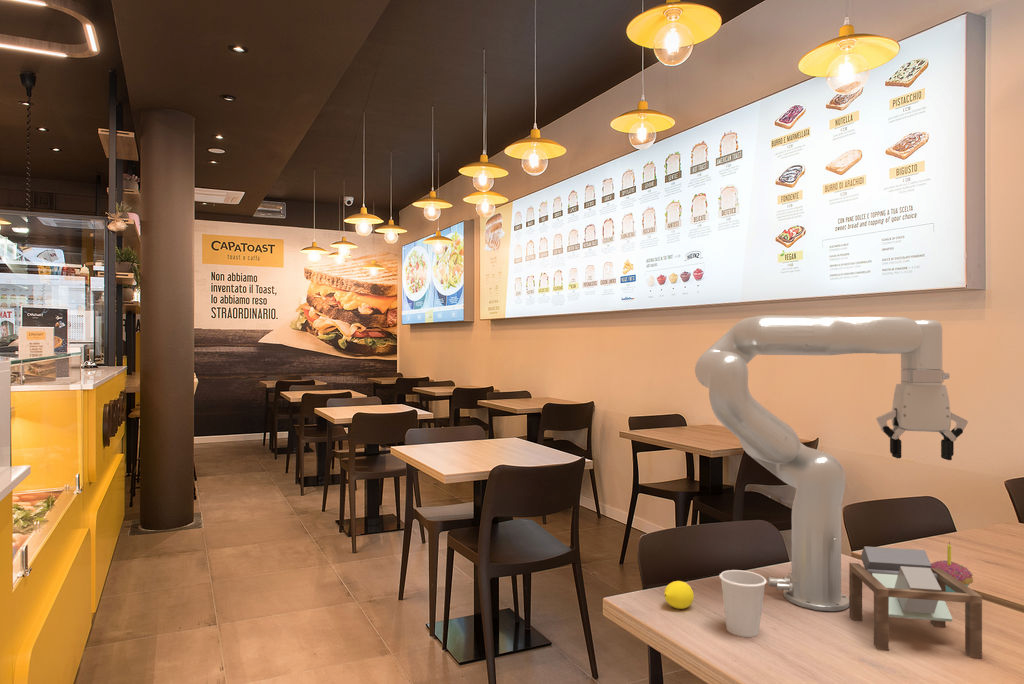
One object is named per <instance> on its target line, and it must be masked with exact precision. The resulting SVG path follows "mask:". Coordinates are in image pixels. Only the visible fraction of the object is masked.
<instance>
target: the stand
mask: <svg viewBox="0 0 1024 684" xmlns="http://www.w3.org/2000/svg"><path fill="white" fill-rule="evenodd" d="M848 565H849V573H848V574H849V575H848V576H849V582H848V583H849V584H848V585H849V588H848V589H849V590H848V591H849V594H848V595H849V597H848V598H849V607H848V608H849V610H848V611H849V614H848V615H849V618H850V619H851V620H852V621H861V622H862V621H863V583H864V585H866V586H867V587H868V589H870V590H871V591H872V592H873V646H874V648H875V649H876V650H877V651H889V650H890V649H889V645H890V644H889V634H890V633H889V631H890V630H889V627H890V625H889V623H890V622H889V618H890V617H889V597H896V598H910V599H924V600H938V601H945V602H946V603H947V602H953V603H964V605H965V606H964V622H965V623H964V653H965V654H966V655H967V656H968V657H969V656H970V657H974V658H973V659H981V658H982V659H983V596H982V595H981V594H979V593H977V592H976V591H974V590H973V589H972V588H970V587H969V586H968V587H967V586H966V585H964V584H963V583H961V582H960V581H958V580H957V579H955V578H954V577H953V576H951V575H950V574H948V573H947V572H945V571H944V570H942V569H937V568H931V571H932V572H933V573H936V574H937V576H938V580H937V582H938V584H939V586H940V588H941V590H942V591H941V592H940V591H926V590H912V589H898V588H886V587H885V586H884V585H883V584H882V583H880V582H879V581H878V580H877V579H876V578H875V577H874V576H873V575H871V574H870V573H869V572H868V571H867V570H866V569H865V568H864V565H862V564H860V562H857V563H856V562H849V564H848ZM946 585H947V586H948V587H949V588H951V589H952V590H953V591H955V592H956V593H955V592H946ZM946 622H947V621H936V620H930V624H932V626H934V627H936V628H946V627H947V626H946ZM970 657H969V658H970Z"/></svg>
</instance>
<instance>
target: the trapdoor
mask: <svg viewBox="0 0 1024 684" xmlns="http://www.w3.org/2000/svg"><path fill="white" fill-rule="evenodd" d="M860 558H861V561H862V564H863V565H862V566H863V567H864V568H865V569H866V570H867V571H868V572H869V573H870V574H871V575H873V576H874V577H875V578H876V579H877V580H878V581H879V582H880V583H882V584H883V585H884V586H885V587H886V588H894V587H895V584H896V580H897V576H898V573H899V569H900V566H905V567H921V568H931V564H932V563H931V562H930V558H929V557H928V554H927V551H926V549H913V548H899V547H898V548H896V547H881V546H879V547H878V546H864V547H863V549H862V552H861V554H860ZM933 574H934V576H935V578H936V580H938V576H937V574H936V573H933ZM949 609H950V608H949V606H948V605H947V601H946V602H945V601H938V603H937V606H936V609H935V612H934V614H931V613H917V612H904V611H903V609H902V607H901V604H900V602H899V600H898V598H896V597H889V618H898V619H901V618H902V619H911V620H924V621H931V620H936V621H946V622H949V623H950V622H953V620H954V619H953V615H952V614H951V613H950V610H949Z"/></svg>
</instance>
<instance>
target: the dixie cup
mask: <svg viewBox="0 0 1024 684" xmlns="http://www.w3.org/2000/svg"><path fill="white" fill-rule="evenodd" d="M718 577H719V579H720V582H721V591H722V599H723V607H724V608H723V609H724V617H725V626H726V630H727V631H728V632H729V633H730V634H731V635H735V636H737V637H742V638H753V637H756V636H758V635H759V633H760V625H761V624H760V623H761V619H762V618H761V617H762V609H763V602H764V597H765V596H764V595H765V586H766V584H767V583H768V580H767V579H766V578H765V577H764V576H763V575H761V574H759V573H756V572H752V571H748V570H741V569H740V570H739V569H731V570H730V569H727V570H724V571H722V572H721V573H719V576H718Z"/></svg>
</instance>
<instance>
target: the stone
mask: <svg viewBox="0 0 1024 684" xmlns="http://www.w3.org/2000/svg"><path fill="white" fill-rule="evenodd" d="M894 588H898V589H912V590H926V591H940V592H941V591H942V590H941V588H940V586H939V584H938V582H937V580H936V578H935V576H934V574H933V572H932V571H931V569H930V568H921V567H905V566H900V569H899V573H898V576H897V580H896V584H895V587H894ZM898 600H899V602H900V604H901V607H902V609H903V611H904V612H917V613H931V614H934V612H935V609H936V606H937V603H938V600H924V599H910V598H898Z"/></svg>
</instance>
